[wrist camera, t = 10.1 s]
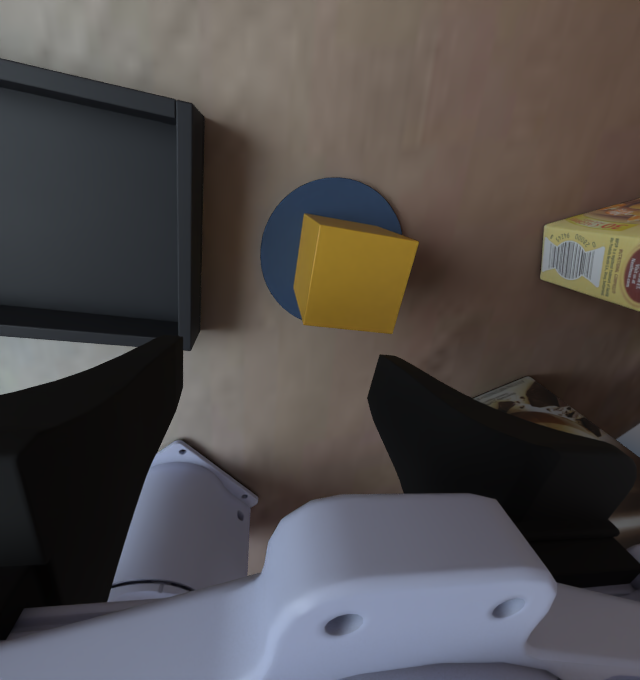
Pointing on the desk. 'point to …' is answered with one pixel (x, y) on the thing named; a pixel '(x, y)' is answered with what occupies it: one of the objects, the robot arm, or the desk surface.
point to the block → (351, 274)
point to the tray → (98, 210)
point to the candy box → (596, 253)
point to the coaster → (322, 200)
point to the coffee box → (548, 410)
